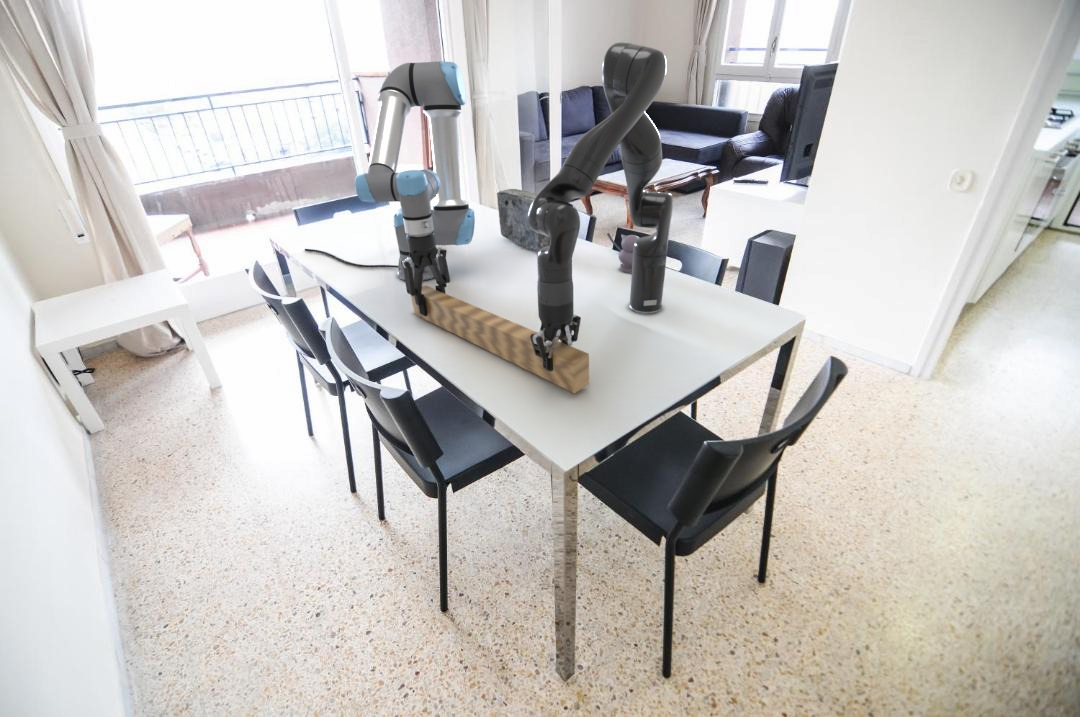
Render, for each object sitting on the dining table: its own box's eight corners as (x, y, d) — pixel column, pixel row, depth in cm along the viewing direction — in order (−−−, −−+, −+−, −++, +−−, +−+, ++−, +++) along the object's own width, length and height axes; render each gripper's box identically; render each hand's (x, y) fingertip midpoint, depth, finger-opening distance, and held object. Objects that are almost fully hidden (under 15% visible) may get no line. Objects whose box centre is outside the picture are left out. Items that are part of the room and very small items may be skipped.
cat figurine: (646, 268, 173) (649, 234, 166) (634, 275, 168) (636, 240, 161) (626, 263, 178) (628, 230, 171) (613, 269, 173) (614, 236, 167)
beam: (414, 314, 149) (409, 289, 145) (428, 308, 152) (423, 284, 148) (574, 393, 109) (573, 362, 105) (589, 383, 111) (589, 353, 107)
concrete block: (556, 252, 190) (555, 199, 179) (537, 257, 186) (535, 203, 175) (517, 236, 209) (515, 187, 198) (500, 240, 204) (496, 190, 194)
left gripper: (397, 244, 125) (412, 326, 137) (456, 227, 136) (466, 304, 148) (381, 238, 129) (398, 318, 141) (440, 222, 140) (451, 297, 152)
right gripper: (544, 313, 98) (547, 384, 107) (591, 290, 106) (590, 358, 115) (518, 303, 102) (523, 371, 111) (565, 281, 111) (566, 347, 120)
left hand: (433, 310), depth 145 cm, fingers open, 6 cm apart
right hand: (557, 364), depth 113 cm, fingers closed on beam, 5 cm apart
